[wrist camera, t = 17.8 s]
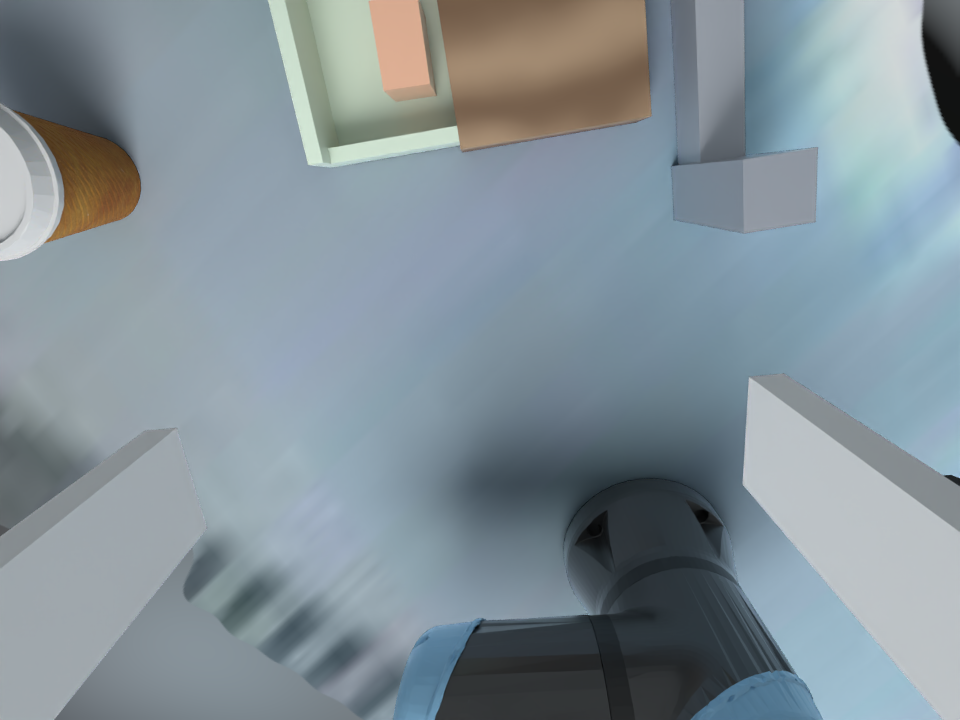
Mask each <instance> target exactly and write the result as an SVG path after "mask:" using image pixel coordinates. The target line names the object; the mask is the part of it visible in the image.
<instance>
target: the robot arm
mask: <svg viewBox="0 0 960 720" xmlns="http://www.w3.org/2000/svg"><path fill="white" fill-rule="evenodd" d="M743 486H744V487H745V488H746V489H747V490H748V491H749V493H750V494H751V495H752V496H753V497H754V498H755V500H756V501H757V502H758V503H759V504H760V506H761V507H762V508H763V509H764V510H765V511H766V513H767V514H768V515H769V516H770V517H771V518H772V520H773V521H774V522H775V523H776V524H777V526H778V527H779V528H780V529H781V530H782V531H783V533H784V534H785V535H786V536H787V537H788V538H789V540H790V541H791V542H792V543H793V544H794V545H795V547H796V548H797V549H798V550H799V551H800V553H801V554H802V555H803V556H804V557H805V558H806V560H807V561H808V562H809V563H810V564H811V565H812V567H813V568H814V569H815V570H816V571H817V573H818V574H819V575H820V576H821V577H822V578H823V580H824V581H825V582H826V583H827V584H828V585H829V587H830V588H831V589H832V590H833V591H834V593H835V594H836V595H837V596H838V597H839V598H840V600H841V601H842V602H843V603H844V604H845V605H846V607H847V608H848V609H849V610H850V611H851V612H852V614H853V615H854V616H855V617H856V618H857V620H858V621H859V622H860V623H861V624H862V625H863V627H864V628H865V629H866V630H867V631H868V632H869V634H870V635H871V636H872V637H873V638H874V640H875V641H876V642H877V643H878V644H879V645H880V647H881V648H882V649H883V650H884V651H885V652H886V654H887V655H888V656H889V657H890V658H891V659H892V661H893V662H894V663H895V664H896V665H897V667H898V668H899V669H900V670H901V671H902V672H903V674H904V675H905V676H906V677H907V678H908V679H909V681H910V682H911V683H912V684H913V685H914V687H915V688H916V689H917V690H918V691H919V692H920V694H921V695H922V696H923V697H924V698H925V699H926V701H927V702H928V703H929V704H930V705H931V706H932V708H933V709H934V710H935V711H936V712H937V714H938V715H939V716H940V717H941V718H942V719H943V720H960V478H957V477H955V476H952V475H944V476H943V475H941V474H940V473H938V472H937V471H935V470H934V469H932V468H930V467H929V466H927V465H926V464H924V463H923V462H921V461H920V460H918V459H916V458H915V457H913V456H912V455H910V454H909V453H907V452H905V451H904V450H902V449H901V448H899V447H898V446H896V445H895V444H893V443H891V442H890V441H888V440H887V439H885V438H884V437H882V436H881V435H879V434H877V433H876V432H874V431H873V430H871V429H870V428H868V427H866V426H865V425H863V424H862V423H860V422H859V421H857V420H856V419H854V418H852V417H851V416H849V415H848V414H846V413H845V412H843V411H842V410H840V409H838V408H837V407H835V406H834V405H832V404H831V403H829V402H828V401H826V400H824V399H823V398H821V397H820V396H818V395H817V394H815V393H813V392H812V391H810V390H809V389H807V388H806V387H804V386H803V385H801V384H799V383H798V382H796V381H795V380H793V379H792V378H790V377H789V376H787V375H785V374H773V375H762V376H750V377H749V385H748V402H747V419H746V436H745V453H744V470H743ZM206 529H207V526H206V522H205V519H204V516H203V512H202V509H201V506H200V503H199V499H198V496H197V493H196V489H195V486H194V483H193V479H192V476H191V473H190V469H189V466H188V463H187V460H186V456H185V453H184V450H183V446H182V443H181V440H180V436H179V433H178V430H177V428H170V429H158V430H147V431H144V432H143V433H141V434H140V435H138V436H137V437H136V438H134V439H133V440H132V441H130V442H129V443H128V444H126V445H125V446H123V447H122V448H121V449H119V450H118V451H117V452H115V453H114V454H112V455H111V456H110V457H108V458H107V459H106V460H104V461H103V462H102V463H100V464H99V465H97V466H96V467H95V468H93V469H92V470H91V471H89V472H88V473H87V474H85V475H84V476H82V477H81V478H80V479H78V480H77V481H76V482H74V483H73V484H71V485H70V486H69V487H67V488H66V489H65V490H63V491H62V492H61V493H59V494H58V495H56V496H55V497H54V498H52V499H51V500H50V501H48V502H47V503H46V504H44V505H43V506H41V507H40V508H39V509H37V510H36V511H35V512H33V513H32V514H30V515H29V516H28V517H26V518H25V519H24V520H22V521H21V522H20V523H18V524H17V525H15V526H14V527H13V528H11V529H10V530H9V531H7V532H6V533H5V534H3V535H2V536H0V720H54V719H55V718H56V716H57V715H58V714H59V713H60V711H61V710H62V709H63V707H64V706H65V705H66V704H67V703H68V701H69V700H70V699H71V698H72V696H73V695H74V694H75V693H76V691H77V690H78V689H79V688H80V686H81V685H82V684H83V683H84V681H85V680H86V679H87V678H88V676H89V675H90V674H91V673H92V671H93V670H94V669H95V668H96V666H97V665H98V664H99V663H100V662H101V660H102V659H103V658H104V657H105V655H106V654H107V652H109V650H110V649H111V648H112V646H113V645H114V644H115V643H116V642H117V640H118V639H119V638H120V637H121V635H122V634H123V633H124V632H125V630H126V629H127V628H128V627H129V625H130V624H131V623H132V622H133V620H134V619H135V618H136V617H137V615H138V614H139V613H140V611H141V610H142V609H143V608H144V607H145V605H146V604H147V603H148V602H149V600H150V599H151V598H152V596H153V595H154V594H155V593H156V592H157V590H158V589H159V588H160V587H161V585H162V584H163V583H164V582H165V580H166V579H167V578H168V577H169V575H170V574H171V573H172V572H173V570H174V569H175V568H176V567H177V566H178V564H179V563H180V562H181V560H182V559H183V558H184V557H185V556H186V554H187V553H188V552H189V551H190V549H191V548H192V547H193V546H194V544H195V543H196V542H197V541H198V539H199V538H200V537H201V536H202V534H203V533H204V532H205V531H206ZM564 562H565V567H566V571H567V576H568V580H569V583H570V585H571V588H572V590H573V592H574V594H575V595H576V597H577V599H578V600H579V601H580V603H581V604H582V605H583V607H584V608H585V609H586V611H587V612H588V614H589V615H578V616H561V617H544V618H528V619H511V620H487V621H486V619H483V618H478V619H476V620H474V621H473V622H465V623H457V624H450V625H440V626H436V627H433V628H431V629H429V630H428V631H426V632H425V633H424V634H423V635H422V636H421V637H420V638H419V639H418V641H417V642H416V644H415V646H414V648H413V650H412V652H411V653H410V656H409V658H408V661H407V663H406V666H405V670H404V673H403V676H402V680H401V683H400V687H399V692H398V696H397V700H396V706H395V711H394V717H393V720H823V718H822V717H821V715H820V713H819V711H818V709H817V707H816V705H815V703H814V702H813V698H812V695H811V693H810V690H809V689H808V687H807V685H806V684H805V683H804V681H803V680H801V679H800V678H799V677H798V676H797V674H796V673H795V671H794V669H793V668H792V666H791V665H790V663H789V662H788V660H787V659H786V657H785V655H784V654H783V652H782V651H781V649H780V648H779V646H778V645H777V643H776V641H775V640H774V638H773V637H772V635H771V634H770V632H769V631H768V629H767V628H766V626H765V624H764V623H763V621H762V620H761V618H760V617H759V615H758V614H757V612H756V610H755V609H754V607H753V606H752V604H751V603H750V601H749V600H748V598H747V597H746V595H745V594H744V592H743V591H742V589H741V587H740V586H739V584H738V579H737V573H736V567H735V561H734V555H733V549H732V543H731V539H730V536H729V533H728V531H727V529H726V527H725V525H724V523H723V521H722V520H721V519H720V517H719V516H718V514H717V513H716V511H715V510H714V509H713V507H712V506H711V505H710V503H709V502H708V501H707V500H706V499H705V498H704V497H703V496H701V495H700V494H699V493H697V492H696V491H694V490H693V489H691V488H689V487H687V486H685V485H682V484H680V483H676V482H673V481H669V480H663V479H637V480H631V481H627V482H623V483H620V484H617V485H615V486H612V487H610V488H608V489H606V490H604V491H602V492H600V493H599V494H597V495H596V496H594V497H593V498H592V499H590V500H589V501H588V502H587V503H586V504H585V505H584V506H583V507H582V508H581V509H580V510H579V511H578V513H577V514H576V515H575V517H574V518H573V520H572V522H571V524H570V526H569V528H568V530H567V533H566V536H565V541H564Z"/></svg>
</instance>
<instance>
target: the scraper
mask: <svg viewBox="0 0 960 720" xmlns="http://www.w3.org/2000/svg"><path fill="white" fill-rule="evenodd" d="M671 18H672V41H673V63H674V86H675V108H676V130H677V153H678V165H676V166H671V168H672V189H673V210H674V220H677V221H682V222H687V223H692V224H697V225H703V226H708V227H713V228H718V229H723V230H728V231H733V232H739V233H750V232H756V231H763V230H769V229H775V228H781V227H788V226H794V225H800V224H807V223H813V222H816V189H817V156H818V147H816V148H806V149H797V150H788V151H779V152H770V153H760V154H751V155H745V52H744V0H671Z"/></svg>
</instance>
